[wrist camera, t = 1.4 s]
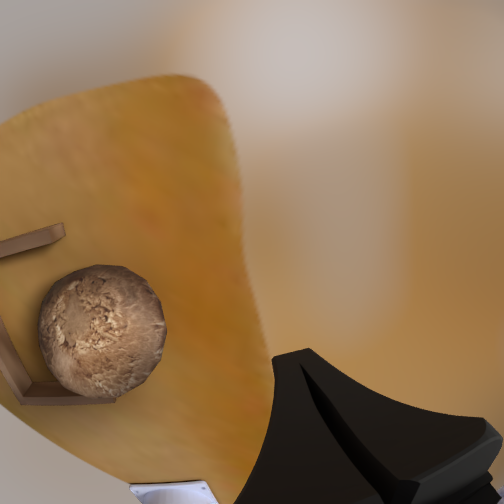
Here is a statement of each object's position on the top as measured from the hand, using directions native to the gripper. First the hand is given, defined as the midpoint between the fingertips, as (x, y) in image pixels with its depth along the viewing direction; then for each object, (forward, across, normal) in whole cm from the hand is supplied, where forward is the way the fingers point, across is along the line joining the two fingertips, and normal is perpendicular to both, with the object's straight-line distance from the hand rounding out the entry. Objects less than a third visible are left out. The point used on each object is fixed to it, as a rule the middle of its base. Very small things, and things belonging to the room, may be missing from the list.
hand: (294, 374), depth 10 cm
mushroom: (+10, +9, 0) cm, 13 cm away
